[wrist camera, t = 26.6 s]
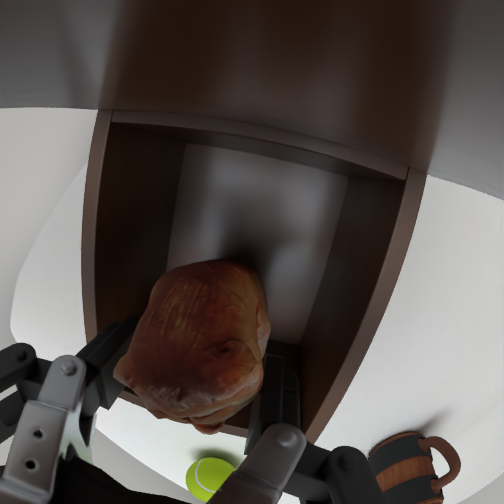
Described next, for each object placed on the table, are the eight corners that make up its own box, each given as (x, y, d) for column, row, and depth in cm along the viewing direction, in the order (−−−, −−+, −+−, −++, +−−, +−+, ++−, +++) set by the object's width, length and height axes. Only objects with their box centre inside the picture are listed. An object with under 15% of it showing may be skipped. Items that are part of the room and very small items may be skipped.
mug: (453, 419, 25) (482, 480, 14) (391, 467, 28) (405, 527, 17) (420, 406, 25) (451, 481, 13) (353, 459, 28) (362, 529, 17)
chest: (305, 349, 24) (311, 448, 13) (156, 312, 24) (93, 385, 14) (360, 169, 19) (429, 166, 9) (182, 131, 20) (99, 102, 10)
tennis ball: (236, 476, 31) (228, 513, 24) (190, 463, 31) (177, 500, 25) (249, 456, 29) (241, 499, 23) (196, 442, 29) (182, 483, 23)
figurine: (213, 322, 22) (140, 484, 8) (187, 231, 20) (36, 335, 6) (289, 311, 21) (290, 495, 7) (269, 213, 20) (235, 322, 5)
